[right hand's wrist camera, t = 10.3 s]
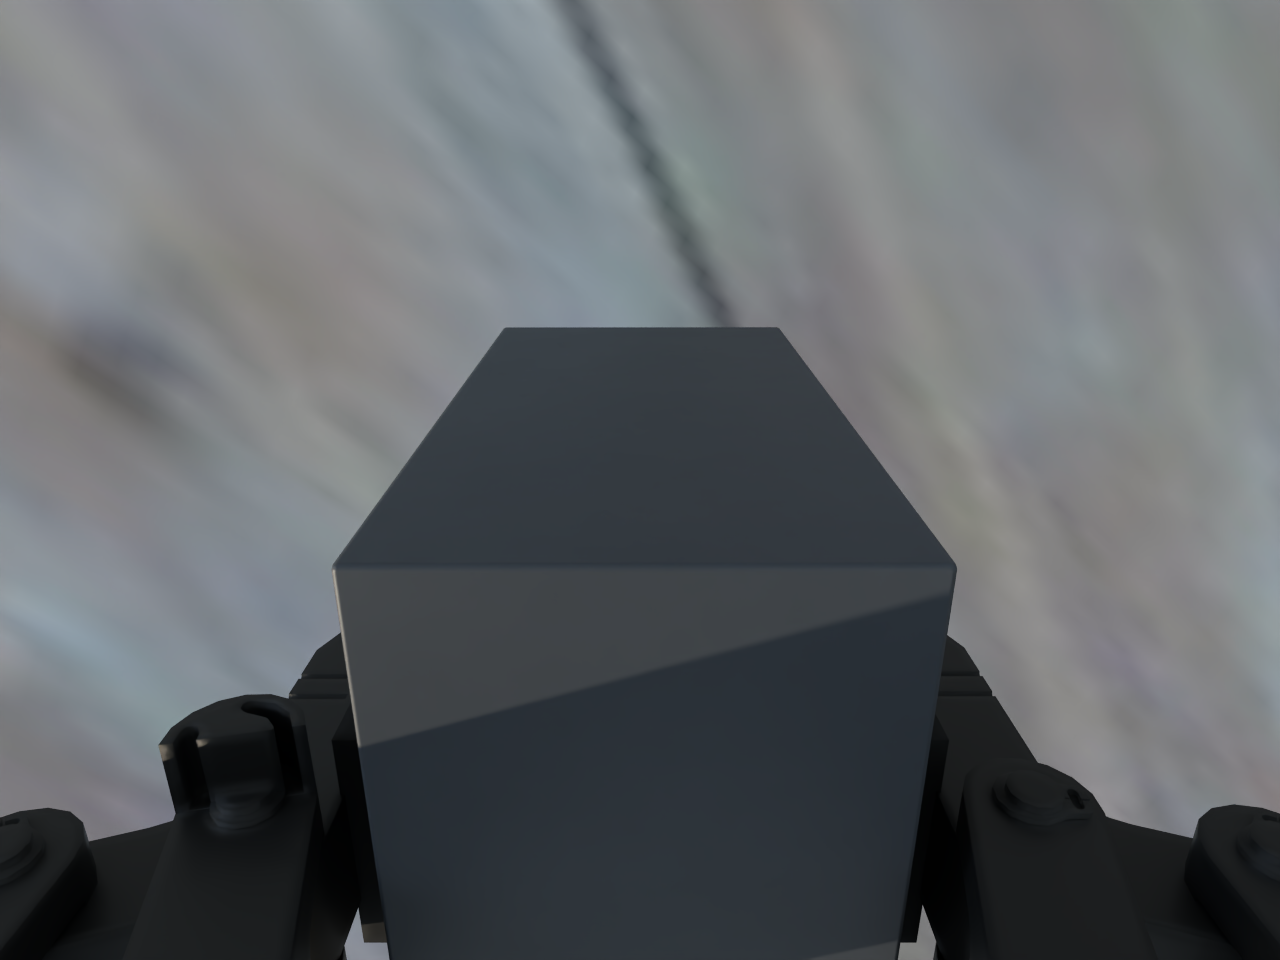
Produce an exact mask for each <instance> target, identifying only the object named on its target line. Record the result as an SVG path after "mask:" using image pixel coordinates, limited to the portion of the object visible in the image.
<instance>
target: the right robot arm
mask: <svg viewBox="0 0 1280 960" xmlns="http://www.w3.org/2000/svg"><path fill="white" fill-rule="evenodd" d="M159 749H160V753H161V757H162V761H163V765H164V769H165V773H166V777H167V781H168V785H169V789H170V793H171V797H172V801H173V805H174V809H175V812H176V814H175V817H174V820H173V821H170V822H167V823H164V824H160V825H157V826H154V827H150V828H146V829H142V830H138V831H133V832H129V833H124V834H120V835H116V836H111V837H107V838H102V839H98V840H94V841H88V838H87V834H86V831H85V828H84V825H83V822H82V821H81V820H79V819H78V818H77V817H76V816H75V815H73V814H72V813H71V812H69V811H63V810H57V809H52V808H43V809H35V810H27V811H19V812H16V813H13V814H10V815H7V816H4V817H1V818H0V960H347V958H346V952H345V947H344V945H345V942H346V939H347V937H348V934H349V931H350V928H351V926H352V923H353V920H354V918H355V915H356V912H357V909H358V907H359V914H360V920H361V926H362V932H363V938H364V942H387V938H386V932H385V925H384V918H383V912H382V905H381V898H380V891H379V885H378V878H377V871H376V865H375V858H374V851H373V844H372V838H371V831H370V824H369V817H368V811H367V804H366V797H365V791H364V784H363V777H362V770H361V764H360V757H359V750H358V743H357V737H356V730H355V723H354V717H353V710H352V703H351V696H350V690H349V683H348V676H347V670H346V663H345V656H344V649H343V643H342V636H341V633H340V634H338V635H337V636H335V637H334V638H333V639H331V640H330V641H329V642H327V643H326V644H325V645H323V646H322V647H321V648H319V649H318V650H317V651H316V652H315V654H314V655H313V657H312V659H311V660H310V662H309V663H308V665H307V666H306V668H305V670H304V671H303V673H302V677H301V679H298V681H297V682H296V684H295V685H294V687H293V689H292V690H291V692H290V693H289V699H287V698H283V697H280V696H276V695H272V694H261V695H243V696H239V697H234V698H230V699H226V700H221V701H218V702H215V703H213V704H211V705H209V706H206V707H204V708H202V709H199V710H197V711H195V712H193V713H191V714H190V715H188V716H187V717H186V718H184V719H183V720H181V721H180V722H179V723H177V724H176V725H175V726H173V727H172V728H171V729H170V730H169V732H168V733H167V734H166V736H165V737H164V738H163V740H162V741H161V742H160V744H159ZM922 905H923V907H924V909H925V912H926V915H927V917H928V920H929V923H930V925H931V928H932V931H933V934H934V936H935V939H936V947H935V952H934V958H933V960H1280V814H1279V813H1277V812H1273V811H1270V810H1267V809H1264V808H1258V807H1250V806H1242V805H1228V806H1222V807H1216V808H1211V809H1210V810H1209V811H1208V812H1207V813H1205V814H1204V815H1203V816H1202V817H1201V818H1200V819H1199V820H1198V824H1197V827H1196V830H1195V833H1194V837H1193V838H1189V837H1184V836H1180V835H1176V834H1171V833H1167V832H1162V831H1158V830H1154V829H1149V828H1145V827H1140V826H1136V825H1132V824H1128V823H1125V822H1122V821H1118V820H1115V819H1112V818H1109V817H1106V816H1105V813H1104V811H1103V810H1102V808H1101V807H1100V805H1099V803H1098V802H1097V800H1096V799H1095V797H1094V796H1093V794H1092V793H1091V792H1089V791H1088V790H1087V789H1086V788H1084V787H1083V786H1082V785H1081V784H1080V783H1078V782H1077V781H1076V780H1075V779H1073V778H1072V777H1070V776H1068V775H1066V774H1064V773H1062V772H1060V771H1058V770H1056V769H1054V768H1052V767H1050V766H1048V765H1044V764H1040V763H1038V762H1037V761H1036V759H1035V758H1034V756H1033V755H1032V753H1031V751H1030V750H1029V748H1028V747H1027V745H1026V744H1025V742H1024V740H1023V739H1022V737H1021V736H1020V734H1019V733H1018V731H1017V730H1016V728H1015V726H1014V725H1013V723H1012V722H1011V720H1010V719H1009V717H1008V715H1007V714H1006V712H1005V711H1004V709H1003V708H1002V706H1001V704H1000V703H999V701H998V700H997V698H996V697H995V696H992V690H991V689H990V687H989V686H988V684H987V683H986V681H985V679H984V678H983V676H980V674H979V670H978V668H977V667H976V665H975V664H974V662H973V661H972V659H971V657H970V656H969V654H968V653H967V651H966V650H965V648H964V647H963V646H961V645H960V644H959V643H957V642H956V641H954V640H953V639H952V638H950V637H949V636H948V635H947V638H946V645H945V652H944V658H943V665H942V671H941V678H940V685H939V691H938V698H937V704H936V711H935V717H934V724H933V731H932V737H931V744H930V750H929V757H928V764H927V770H926V777H925V783H924V790H923V796H922V803H921V810H920V816H919V823H918V829H917V836H916V842H915V849H914V856H913V862H912V869H911V875H910V882H909V889H908V895H907V902H906V908H905V915H904V921H903V928H902V935H901V941H900V942H915V943H916V942H917V935H918V929H919V923H920V917H921V911H922Z"/></svg>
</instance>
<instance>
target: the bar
mask: <svg viewBox="0 0 1280 960" xmlns="http://www.w3.org/2000/svg"><path fill="white" fill-rule="evenodd" d="M956 573H957V567H956V564H955V563H954V561H953V560H952V559H951V557H950V556H949V555H948V553H947V552H946V551H945V549H944V548H943V547H942V545H941V544H940V543H939V541H938V540H937V539H936V537H935V536H934V535H933V533H932V532H931V531H930V529H929V528H928V526H927V525H926V524H925V522H924V521H923V520H922V518H921V517H920V516H919V514H918V513H917V512H916V510H915V509H914V508H913V506H912V505H911V504H910V502H909V501H908V500H907V498H906V497H905V496H904V494H903V493H902V492H901V490H900V489H899V488H898V486H897V485H896V484H895V482H894V481H893V480H892V478H891V477H890V476H889V474H888V473H887V472H886V470H885V469H884V468H883V466H882V465H881V464H880V462H879V461H878V460H877V458H876V457H875V456H874V454H873V453H872V452H871V450H870V449H869V448H868V446H867V445H866V444H865V442H864V441H863V440H862V438H861V437H860V436H859V434H858V433H857V432H856V430H855V429H854V428H853V426H852V425H851V424H850V422H849V421H848V420H847V418H846V417H845V416H844V414H843V413H842V412H841V410H840V409H839V408H838V406H837V405H836V404H835V402H834V401H833V400H832V398H831V397H830V396H829V394H828V393H827V392H826V390H825V389H824V388H823V386H822V385H821V384H820V382H819V381H818V380H817V378H816V377H815V376H814V374H813V373H812V372H811V370H810V369H809V368H808V366H807V365H806V364H805V362H804V361H803V360H802V358H801V357H800V356H799V354H798V353H797V352H796V350H795V349H794V348H793V346H792V345H791V344H790V342H789V341H788V340H787V338H786V337H785V336H784V334H783V333H782V332H781V330H780V329H779V328H777V327H731V328H504V329H503V331H502V332H501V333H500V335H499V336H498V338H497V339H496V340H495V342H494V343H493V344H492V346H491V347H490V349H489V350H488V351H487V353H486V354H485V355H484V357H483V358H482V360H481V361H480V362H479V364H478V365H477V366H476V368H475V369H474V371H473V372H472V373H471V375H470V376H469V378H468V379H467V380H466V382H465V383H464V384H463V386H462V387H461V389H460V390H459V391H458V393H457V394H456V395H455V397H454V398H453V400H452V401H451V402H450V404H449V405H448V407H447V408H446V409H445V411H444V412H443V413H442V415H441V416H440V418H439V419H438V420H437V422H436V423H435V424H434V426H433V427H432V429H431V430H430V431H429V433H428V434H427V436H426V437H425V438H424V440H423V441H422V442H421V444H420V445H419V447H418V448H417V449H416V451H415V452H414V453H413V455H412V456H411V458H410V459H409V460H408V462H407V463H406V464H405V466H404V467H403V469H402V470H401V471H400V473H399V474H398V476H397V477H396V478H395V480H394V481H393V482H392V484H391V485H390V487H389V488H388V489H387V491H386V492H385V493H384V495H383V496H382V498H381V499H380V500H379V502H378V503H377V505H376V506H375V507H374V509H373V510H372V511H371V513H370V514H369V516H368V517H367V518H366V520H365V521H364V522H363V524H362V525H361V527H360V528H359V529H358V531H357V532H356V534H355V535H354V536H353V538H352V539H351V540H350V542H349V543H348V545H347V546H346V547H345V549H344V550H343V551H342V553H341V554H340V556H339V557H338V558H337V560H336V561H335V562H334V564H333V566H332V575H333V582H334V589H335V596H336V602H337V609H338V616H339V622H340V629H341V636H342V643H343V649H344V656H345V663H346V670H347V676H348V683H349V690H350V696H351V703H352V710H353V717H354V723H355V730H356V737H357V743H358V750H359V757H360V764H361V770H362V777H363V784H364V791H365V797H366V804H367V811H368V817H369V824H370V831H371V838H372V844H373V851H374V858H375V865H376V871H377V878H378V885H379V891H380V898H381V905H382V912H383V918H384V925H385V932H386V938H387V945H388V952H389V959H390V960H898V954H899V948H900V941H901V935H902V928H903V921H904V915H905V908H906V902H907V895H908V889H909V882H910V875H911V869H912V862H913V856H914V849H915V842H916V836H917V829H918V823H919V816H920V810H921V803H922V796H923V790H924V783H925V777H926V770H927V764H928V757H929V750H930V744H931V737H932V731H933V724H934V717H935V711H936V704H937V698H938V691H939V685H940V678H941V671H942V665H943V658H944V652H945V645H946V638H947V632H948V625H949V619H950V612H951V606H952V599H953V592H954V586H955V579H956Z"/></svg>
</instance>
